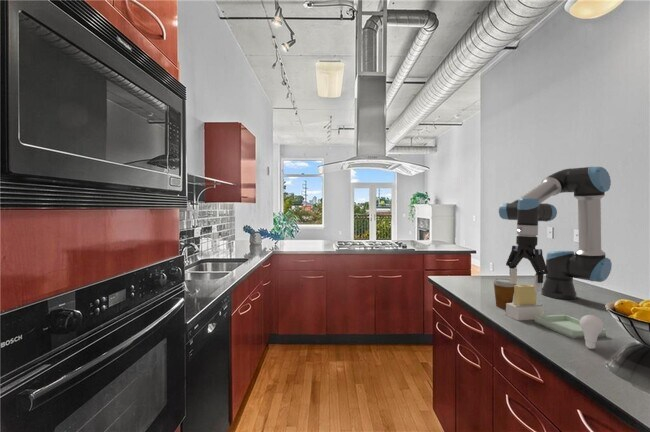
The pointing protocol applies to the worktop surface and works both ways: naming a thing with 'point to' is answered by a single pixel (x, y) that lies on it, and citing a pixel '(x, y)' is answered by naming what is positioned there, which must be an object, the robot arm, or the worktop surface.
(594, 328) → the lightbulb
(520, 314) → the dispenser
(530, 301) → the pale yellow tall box
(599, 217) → the robot arm
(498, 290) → the disposable coffee cup
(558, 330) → the tray
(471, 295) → the worktop surface
